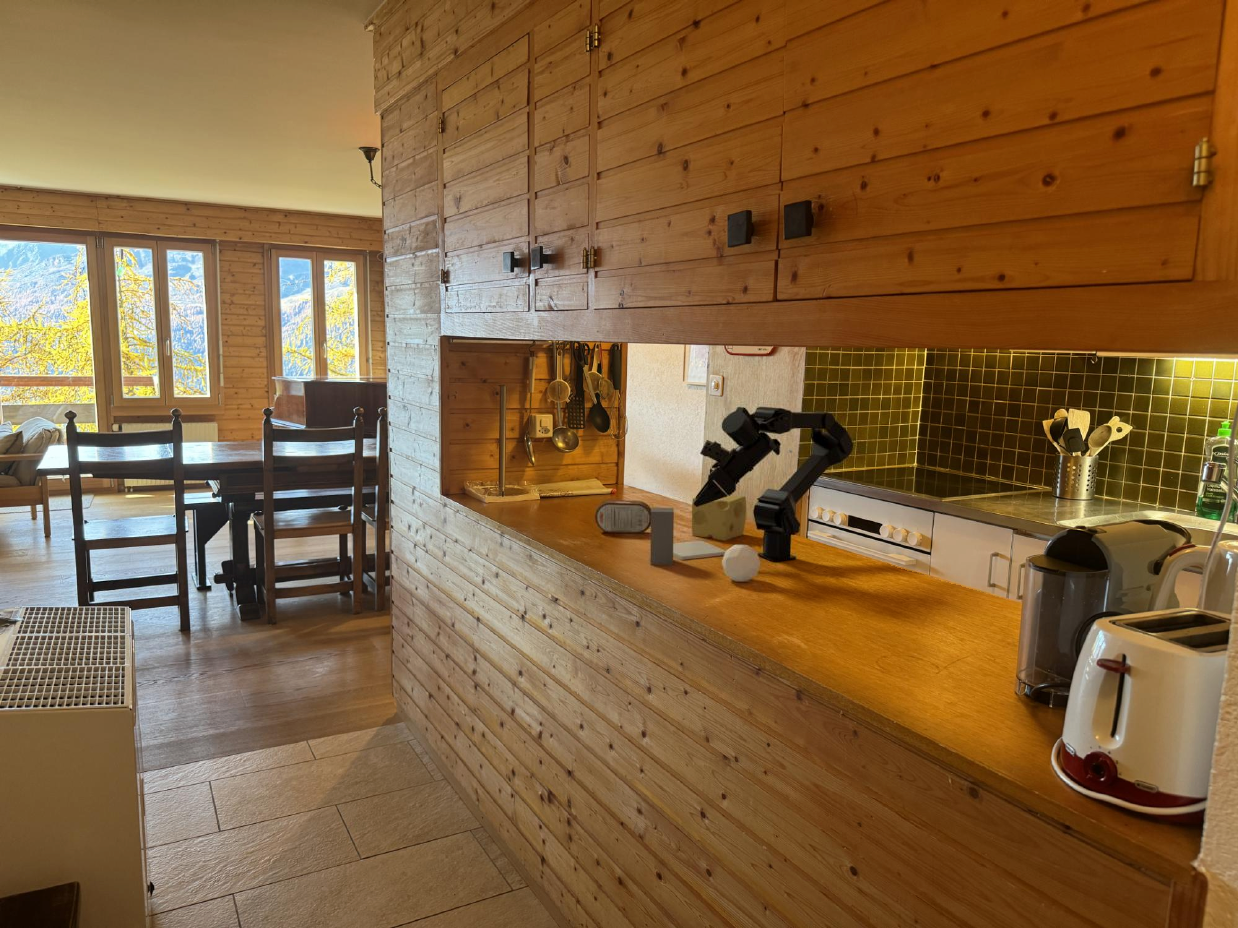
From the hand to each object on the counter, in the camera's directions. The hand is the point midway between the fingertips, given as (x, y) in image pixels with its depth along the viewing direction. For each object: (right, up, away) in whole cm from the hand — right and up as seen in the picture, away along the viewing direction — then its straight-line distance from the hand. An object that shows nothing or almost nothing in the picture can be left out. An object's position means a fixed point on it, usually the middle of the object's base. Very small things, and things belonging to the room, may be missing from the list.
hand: (695, 502), depth 194 cm
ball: (+8, -16, -14) cm, 22 cm away
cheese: (+8, -10, +29) cm, 32 cm away
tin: (-16, -9, +31) cm, 36 cm away
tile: (0, -12, +11) cm, 16 cm away
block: (-8, -13, +1) cm, 16 cm away
